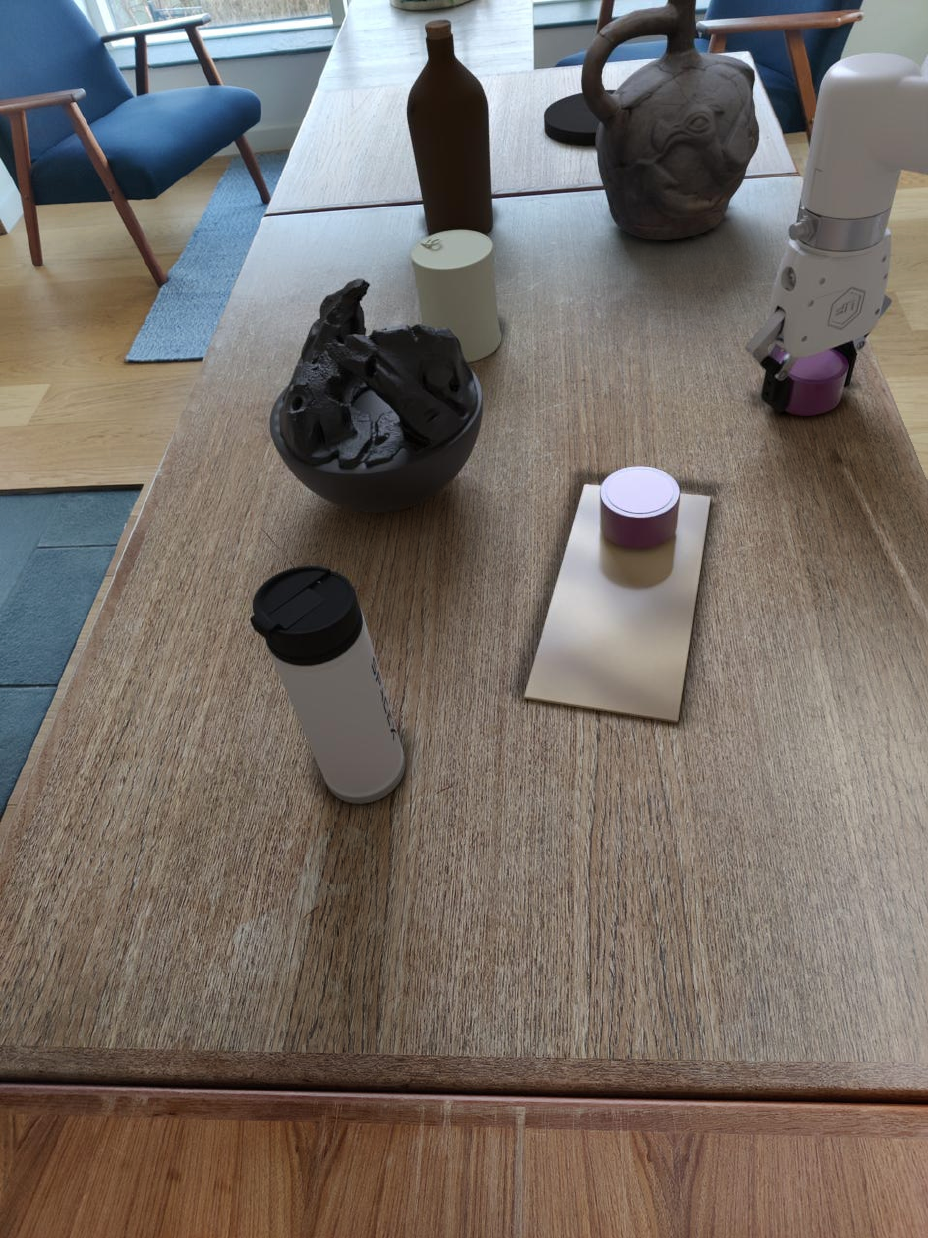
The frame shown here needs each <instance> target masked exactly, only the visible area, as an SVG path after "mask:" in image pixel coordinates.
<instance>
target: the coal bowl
mask: <svg viewBox="0 0 928 1238" xmlns="http://www.w3.org/2000/svg"><path fill="white" fill-rule="evenodd" d="M370 286H371V283H370V282H368V281H366V279H364V278H360V277H359V278H356V279H353V280H350V281H348V282H347V283H346V284H345V285H344V287H343V288H341V289H338V290H337V291H335V292H333V293H331V294H328V295H326V296H325V297H324V298H323V300H322V302H321V303H320V305H319V310H318V312H319V318H317V319H316V320H315V321H313V323H312V325H311V327H310V329H309V331H308V334H307V337H306V339H305V342H304V344H303V346H302V348H301V352H300V356H299V358H298V360H297V363H296V365H295V368H294V370H293V373H292V376H291V379H290V381H289V382H288V385H287V386H285V388H284V389H283V390H282V391H281V392H280V394H279V396H277V398H276V400H275V402H274V404H273V406H272V408H271V411H270V415H269V433H270V438H271V440H272V442H273V445H274V447H275V449H276V451H277V453H278V455H279V457H280V458H281V460H282V461H283V463H284V465H286V467H287V468H288V470H289V471H290V472H291V474H293V475H294V476H295V478H296V479H297V480H298V481H299V482H300V483H301V484H303V485H304V486H305V487H306V488H307V489H308V490H309V491H311V492H313V493H314V494H316V495H317V496H318V497H320V498H322V499H324V500H325V501H328V502H329V503H332V504H333V505H334V504H335V505H336V506H339V507H342V508H344V509H349V510H353V511H357V512H364V513H390V512H396V511H401V510H405V509H408V508H411V507H414V506H416V505H418V504H421V503H423V502H426V501H427V500H428V499H430V498H432V497H433V496H435V495H437V494H438V493H440V492H441V491H442V490H443V489H444V488H446V487H447V486H448V485H449V484H450V483H451V482H452V481H453V480H454V479H455V478H456V477H457V475H458V474H459V473H460V472H461V470H462V469H463V468H464V466H465V465H466V463H467V461H468V460H469V459H470V456H471V454H472V452H473V450H474V448H475V446H476V443H477V440H478V437H479V434H480V431H481V425H482V420H483V415H484V414H483V413H484V393H483V388H482V386H481V383H480V380H479V379H478V376H477V375H476V374H475V372H474V371H473V370H472V369H471V367H470V365H469V363H467V361H466V359H465V357H464V355H463V353H462V349H461V344H460V342H459V340H458V338H457V337H456V336H454V334H453V333H452V332H451V331H450V329H449V328H447V327H444V328H433V327H431V326H425V325H423V324H422V323H421V324H420V323H417V324H415V325H412V326H410V325H408V324H402V325H393V326H388V327H385V328H377V329H373V330H372V332H371V334H369V335H367V328H366V326H365V323H366V322H365V312H364V308H363V306H362V304H361V302H362V301H363V298H364V297H365V296H366V295H367V294H368V290H369V289H370V288H369V287H370Z"/></svg>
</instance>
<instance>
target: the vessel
mask: <svg viewBox="0 0 928 1238" xmlns="http://www.w3.org/2000/svg"><path fill="white" fill-rule="evenodd" d="M666 2H667V3H666V4H665V5H663V6H659V7H647V8H641V9H640V8H639V9H635V10H632V11H631V12H628V13H626V14H623V15H621V16H619V17H617V18H616V19H614V20H612V21H610V22H609V23H607V24H606V25H605V26H603V27H602V29H600V30H599V32H598V33H597V34H596V36H595V37H594V38H593V40H592V42H591V44H590V45H589V47H588V48H587V50H586V53H585V55H584V59H583V62H582V67H581V76H580V87H581V93H583V97H584V99H585V102H586V104H587V106H588V108H589V109H590V111H591V112H592V113H593V114H594V116H595V117H596V118H597V119H598V120H599V121H600V124H599V126H598V129H597V133H596V138H595V144H596V146H595V150H596V160H597V161H596V162H597V168H598V174H599V177H600V180H601V184H602V187H603V189H604V192H605V193H604V194H605V197H606V200H607V204H608V208H609V212H610V215H611V218H612V220H613V221H614V223H615V224H616V226H617V227H618V228H619V229H620V230H622V231H623V232H626V233H628V234H630V235H632V236H635V237H638V238H641V239H647V240H665V241H666V240H667V241H668V240H678V239H684V238H689V237H692V236H697V235H699V234H704V233H706V232H708V231H710V230H712V229H714V228H715V227H716V226H717V225H719V224H720V223H721V222H722V220H723V219H724V218H725V216H726V213H727V211H728V208H729V205H730V201H731V199H732V198H733V197H734V196H735V194H736V193H737V191H738V190H739V189H740V187H741V186H742V184H743V182H744V181H745V180H744V179H745V178H746V174H747V171H748V167H749V165H750V162H751V161H752V158H753V157H754V155H755V154H756V152H757V150H758V146H759V143H760V125H759V122H758V119H757V116H756V105H755V101H754V100H755V99H754V87H755V82H756V73H755V69H754V68H752V66H751V65H750V64H749V63H747V62H746V61H743V60H742V59H740V58H737V57H734V56H730V55H725V54H720V53H710V52H699V51H698V50H697V47H696V45H695V25H696V24H695V23H696V7H697V0H667V1H666ZM647 36H666V48H665V51H664V53H663V55H662V56H661V57H659V58H657V59H654V60H652V61H650V62H647V63H646V64H645V65H643V66H641V67H640V68H638V69H637V70H636V71H634V72H633V73H632V74H631V75H629V76H628V77H627V78H626V79H625V80H624V81H623V82H622V84H620V85H619V86H618V87H617V89H615V90H616V91H615V92H614V93H613V94H609V93H608V92H607V91H606V90H607V89H606V88H605V86H604V84H603V71H604V69H605V68H604V67H606V63H607V61H608V59H609V58H610V56H611V54H612V53H613V52H614V51H615V49H616V48H618V47H619V46H620V45H621V44H624V43H625V42H628V41H630V40H633V39H637V38H641V37H647Z"/></svg>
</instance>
